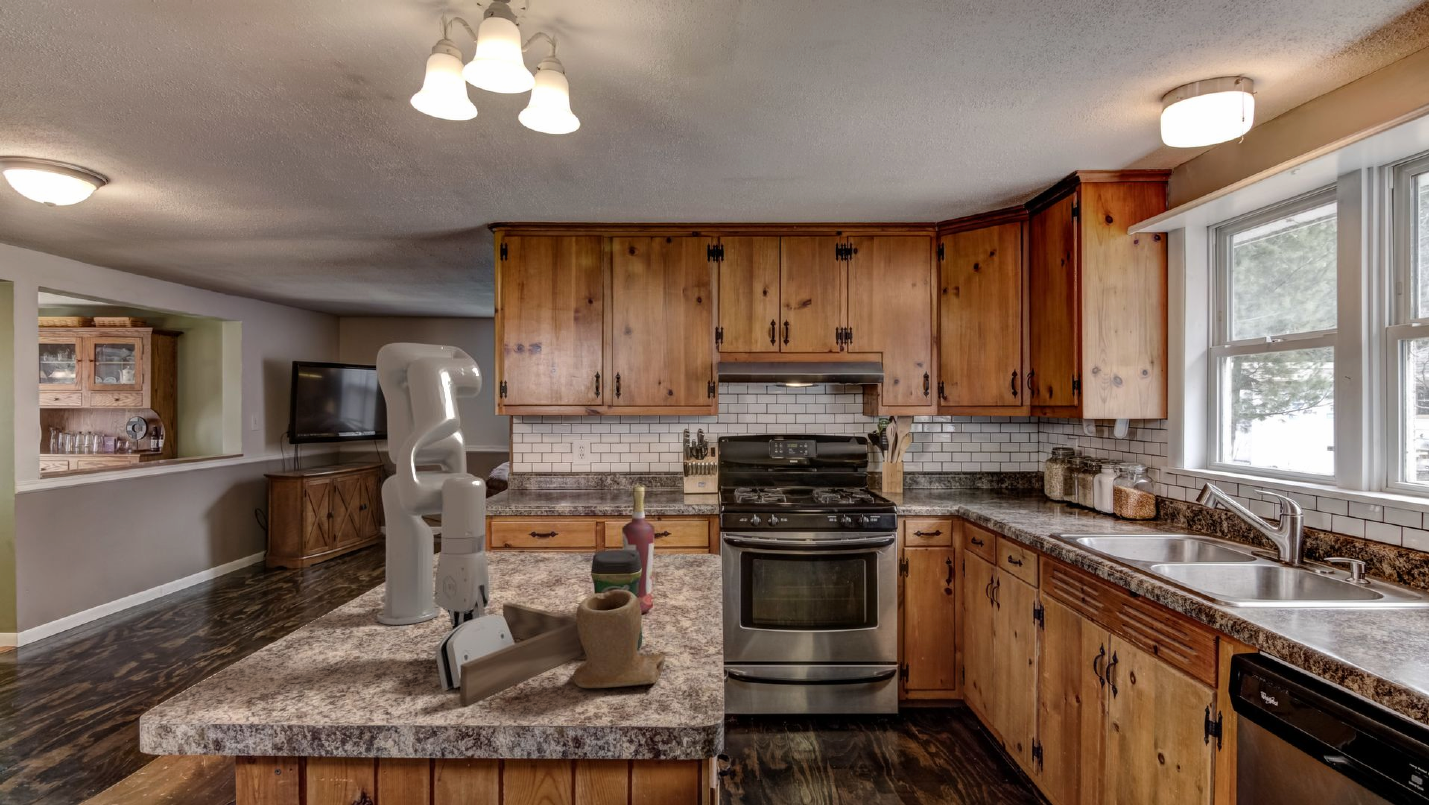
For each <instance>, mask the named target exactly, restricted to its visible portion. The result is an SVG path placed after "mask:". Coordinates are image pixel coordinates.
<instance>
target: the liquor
mask: <svg viewBox="0 0 1429 805" xmlns="http://www.w3.org/2000/svg"><path fill="white" fill-rule="evenodd" d="M632 498H633V503H632V504H633V505H632V506H633V507H632V515H631V521H630V522H627V523H626V524H625V525H623V527H621V532H622V550H637V551H638V552H639V555H640V560H641V567H642V574H641V577H640V580H639V584H638V594H639V603H640V607H641V614H647V613H648V612H649V611H650V610H651V609H652V608H653V607H654V603H653V600H652V594H653V593H652V589H653V588H652V586H653V566H654V552H655V531H656V530H655V528H656V527H655V526H654V525H653V524H652V523H651V522H648V521H646V517H645V516H646V515H645V505H644V504H645V503H644V500H645V486H632Z"/></svg>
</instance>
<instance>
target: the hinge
mask: <svg viewBox="0 0 1429 805" xmlns="http://www.w3.org/2000/svg"><path fill="white" fill-rule="evenodd" d="M514 644H516V643H515V640H514V637H512V635H511V633H510V630H509V628H508V625H507V623H506V620H505V618H504V617H503V614H502V615H500V614H495V615H494V614H493V615H492V614H491V615H485V616H483V617H479V618H476V619H472V620H469V621H467V622H465V623H463V624H461V625H460V626H458V627H456V628H455V629H453V628H452V630H450V632H448V633H447V634H446V635H445V636H444V637H442V639H441V640H440V641H439V643H438V644H437V645H436V647H435V658H436V664H437V668H438V674H439V679H440V684H441V689H443V690H442V691H445V690H446V691H448V690H450V689H452V688H453V689H456V688H458V687H459V688H460V672H461V665H462V664H464V663H467V662H470V661H472V660H475V659H478V658H480V657H483V656H485V655H488V654H491V653H493V652H496V651H499V650H501V649H504V648H507V647H509V646H512V645H514Z"/></svg>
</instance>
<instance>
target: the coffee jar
mask: <svg viewBox="0 0 1429 805" xmlns="http://www.w3.org/2000/svg"><path fill="white" fill-rule="evenodd" d="M591 564H592V565H591V571H590V576H591V580H592V582H593V590H594V591H593V592H594V593H593V594H597V593H606V592H609V591H611V590H626V591H629V592H631V593H633V594H634V595H635V596H636V597H637V599H638V601H639V594H638V584H639V580H640V577H641V574H642V567H641V560H640V555H639V552H638V551H637V550H623V549H607V550H598V551H596V552H595V553H594V554H593V558H592V563H591ZM642 628H643V627H642V626H641V628H640V634H639V640H638V647H637V651H638V650H639V649H640V648H641V647H642V644H643V630H642Z"/></svg>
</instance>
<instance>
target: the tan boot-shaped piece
mask: <svg viewBox="0 0 1429 805" xmlns="http://www.w3.org/2000/svg"><path fill="white" fill-rule="evenodd" d="M642 617H643V616H642V614H641V607H640V603H639V601H638V599H637V597H636V596H635V595H634V594H633V593H631V592H629V591H626V590H611V591H609V592H606V593H597V594H594V593H592V594H591V595H589V596H587V597H585V598H584V599H583V600H582V601H581V602H580V603H579V604H578V606H577V609H576V618H577V627H578V633H579V637H580V640H581V643H582V645H583V648H584V650H585V653H586V654H585V656H586V657H585V658H586V661H583V662H581V663H580V665H578V666H577V668H576V669H575V670H574V672H573V675H572V676H573V677H572V680H573V682H574V683H575V684H576V685H577V686H578V687H580V688H584V689H605V688H607V689H608V688H618V687H619V688H620V687H629V686H631V687H632V686H639V685H649V684H650V685H651V684H655V683H656V682H658V680H659V678H660V677H661V675H662V672H663V670H664V666H665V660H666V654H661V653H660V654H639V652H638V650H637V647H638V640H639V634H640V628H641V627H642Z"/></svg>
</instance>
